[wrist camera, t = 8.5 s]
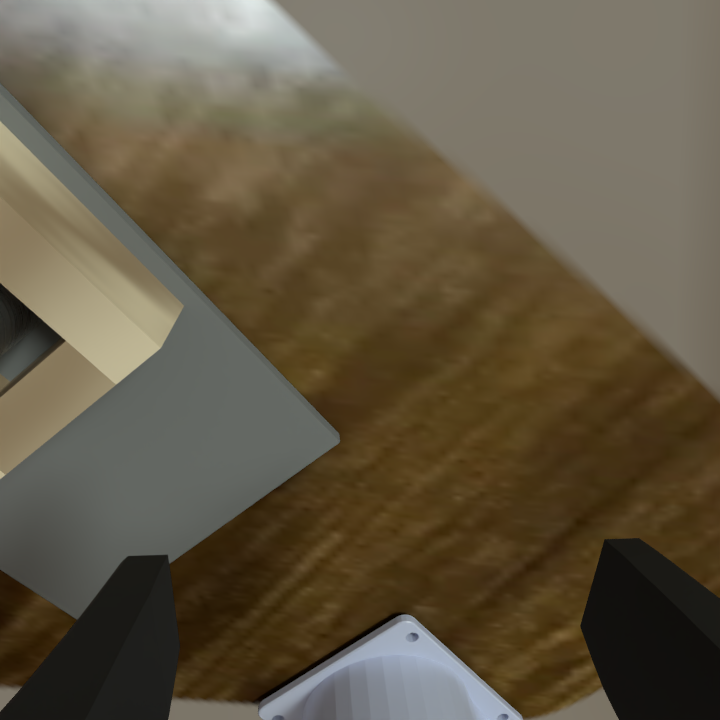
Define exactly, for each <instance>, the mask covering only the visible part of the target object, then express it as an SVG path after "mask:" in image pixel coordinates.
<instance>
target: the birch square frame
mask: <svg viewBox="0 0 720 720" xmlns="http://www.w3.org/2000/svg"><path fill="white" fill-rule="evenodd" d="M0 283H1V284H2V285H3V286H4V287H5V288H6V289H8V290H9V291H10V292H11V293H12V294H13V295H14V296H16V297H17V298H18V299H19V300H20V301H21V302H22V303H24V304H25V305H26V306H27V307H28V308H29V309H30V310H32V311H33V312H34V313H35V314H36V315H37V316H38V317H39V318H41V319H42V320H43V321H44V322H45V323H46V324H47V325H49V326H50V327H51V328H52V329H53V330H54V331H55V332H57V333H58V334H59V335H60V336H61V338H60V339H59V340H58V341H57V342H56V343H54V344H53V345H52V346H51V347H50V348H49V349H47V350H46V351H45V352H44V353H43V354H42V355H41V356H39V357H38V358H37V359H36V360H35V361H34V362H32V363H31V364H30V365H29V366H28V367H27V368H25V369H24V370H23V371H22V372H21V373H20V374H18V375H17V376H16V377H15V378H14V379H13V380H11V381H9V380H7V379H6V378H5V377H4V376H2V375H1V374H0V479H1V478H2V477H4V476H5V475H6V474H7V473H8V472H10V471H11V470H12V469H13V468H15V467H16V466H17V465H18V464H20V463H21V462H22V461H23V460H24V459H26V458H27V457H28V456H29V455H31V454H32V453H33V452H34V451H35V450H37V449H38V448H39V447H40V446H42V445H43V444H44V443H45V442H46V441H48V440H49V439H50V438H51V437H53V436H54V435H55V434H56V433H58V432H59V431H60V430H61V429H62V428H64V427H65V426H66V425H67V424H69V423H70V422H71V421H72V420H73V419H75V418H76V417H77V416H78V415H80V414H81V413H82V412H83V411H84V410H86V409H87V408H88V407H89V406H91V405H92V404H93V403H94V402H96V401H97V400H98V399H99V398H100V397H102V396H103V395H104V394H105V393H107V392H108V391H109V390H110V389H111V388H113V387H114V386H115V385H116V384H118V383H119V382H120V381H121V380H122V379H124V378H125V377H126V376H127V375H129V374H130V373H131V372H132V371H133V370H135V369H136V368H137V367H138V366H140V365H141V364H142V363H143V362H145V361H146V360H147V359H148V358H149V357H151V356H152V355H153V354H154V353H156V352H157V351H158V350H159V349H160V348H161V347H162V345H163V343H164V341H165V340H166V338H167V336H168V334H169V332H170V331H171V329H172V327H173V325H174V323H175V322H176V320H177V318H178V316H179V314H180V313H181V311H182V309H183V307H184V305H183V304H182V303H181V302H180V301H179V300H178V299H177V298H176V297H175V296H174V295H173V294H172V293H171V292H170V291H169V290H168V289H167V288H166V287H165V286H164V285H163V284H162V283H161V282H160V281H159V280H158V279H157V278H156V277H155V276H154V275H153V274H152V273H151V272H150V271H149V270H148V269H147V268H146V267H145V266H144V265H143V264H142V263H141V262H140V261H139V260H138V259H137V258H136V257H135V256H134V255H133V254H132V253H131V252H130V251H129V250H128V249H127V248H126V247H125V246H124V245H123V244H122V243H121V242H120V241H119V240H118V239H117V238H116V237H115V236H114V235H113V234H112V233H111V232H110V231H109V230H108V229H107V228H106V227H105V226H104V225H103V224H102V223H101V222H100V221H99V220H98V219H97V218H96V217H95V216H94V215H93V214H92V213H91V212H90V211H89V210H88V209H87V208H86V207H85V206H84V205H83V204H82V203H81V202H80V201H79V200H78V199H77V198H76V197H75V196H74V195H73V194H72V193H71V192H70V191H69V190H68V189H67V188H66V187H65V186H64V185H63V184H62V183H61V182H60V181H59V180H58V179H57V178H56V177H55V176H54V175H53V174H52V173H51V172H50V171H49V170H48V169H47V168H46V167H45V166H44V165H43V164H42V163H41V162H40V161H39V160H38V159H37V158H36V157H35V156H34V155H33V154H32V153H31V151H30V150H29V149H28V148H27V147H26V146H25V145H24V144H23V143H22V142H21V141H20V140H19V139H18V138H17V137H16V136H15V135H14V134H13V133H12V132H11V131H10V130H9V129H8V128H7V127H6V126H5V125H4V124H3V123H2V122H1V121H0Z"/></svg>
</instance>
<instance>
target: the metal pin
mask: <svg viewBox="0 0 720 720" xmlns="http://www.w3.org/2000/svg"><path fill="white" fill-rule="evenodd" d="M41 321H42V319H41V318H39V317H38V316H37V315H36V314H35V313H34V312H33V311H32V310H30V309H29V308H28V307H27V306H26V305H25V304H24V303H22V302H21V301H20V300H19V299H18V298H17V297H16V296H14V295H13V294H12V293H11V292H10V291H9V290H8V289H6V288H5V287H4V286H3V285H2V284H1V283H0V357H1V356H2V355H3V354H4V353H6V352H7V351H8V350H9V349H10V348H11V347H13V346H14V345H15V344H16V343H17V342H19V341H20V340H21V339H22V338H23V337H25V336H26V335H27V334H28V333H29V332H30V331H32V330H33V329H34V328H35V327H36V326H37V325H38V324H39V323H40V322H41Z"/></svg>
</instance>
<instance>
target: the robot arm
mask: <svg viewBox="0 0 720 720" xmlns="http://www.w3.org/2000/svg"><path fill="white" fill-rule="evenodd" d="M581 629H582V632H583V635H584V638H585V641H586V643H587V646H588V649H589V652H590V655H591V657H592V660H593V663H594V665H595V668H596V670H597V673H598V676H599V678H600V681H601V683H602V686H603V688H604V690H605V692H606V695H607V697H608V699H609V701H610V703H611V704H612V707H613V709H614V711H615V713H616V715H617V717H618V718H619V720H720V598H718V597H717V596H716V595H714V594H713V593H712V592H710V591H709V590H708V589H707V588H705V587H704V586H703V585H701V584H700V583H699V582H697V581H696V580H695V579H693V578H692V577H691V576H689V575H688V574H687V573H686V572H684V571H683V570H682V569H680V568H679V567H678V566H676V565H675V564H674V563H672V562H671V561H670V560H668V559H667V558H666V557H664V556H663V555H662V554H660V553H659V552H658V551H656V550H655V549H653V548H652V547H651V546H649V545H648V544H646V543H645V542H643V541H642V540H641V539H639V538H633V539H605V540H604V544H603V547H602V551H601V554H600V558H599V562H598V565H597V569H596V572H595V576H594V579H593V583H592V586H591V590H590V594H589V597H588V601H587V604H586V608H585V611H584V615H583V618H582V622H581ZM410 633H411V634H410ZM179 649H180V643H179V635H178V628H177V620H176V612H175V605H174V597H173V589H172V582H171V574H170V566H169V559H168V555H141V556H127V557H126V558H125V559H124V560H123V561H122V562H121V563H120V564H119V566H118V567H117V569H116V570H115V571H114V573H113V574H112V575H111V577H110V578H109V579H108V581H107V582H106V583H105V585H104V586H103V587H102V589H101V590H100V591H99V592H98V594H97V595H96V596H95V598H94V599H93V600H92V602H91V603H90V604H89V606H88V607H87V608H86V609H85V611H84V612H83V613H82V615H81V616H80V617H79V618H78V620H77V621H76V622H75V623H74V625H73V626H72V627H71V628H70V630H69V631H68V632H67V634H66V635H65V636H64V637H63V638H62V640H61V641H60V642H59V643H58V645H57V646H56V647H55V648H54V649H53V651H52V652H51V653H50V654H49V655H48V657H47V658H46V659H45V660H44V661H43V663H42V664H41V665H40V666H39V668H38V669H37V670H36V671H35V672H34V674H33V675H32V676H31V677H30V678H29V680H28V681H27V682H26V683H25V684H24V685H23V687H22V688H21V689H20V690H19V691H18V693H17V694H16V695H15V696H14V697H13V698H12V699H11V700H10V702H9V703H8V704H7V705H6V706H5V707H4V708H3V709H2V710H1V712H0V720H168V717H169V712H170V705H171V700H172V694H173V688H174V682H175V675H176V669H177V662H178V655H179ZM258 714H259V716H260V718H262V719H263V720H523V718H522V716H521V715H520V714H519V713H518V712H517V711H516V710H515V709H514V708H513V707H512V706H511V705H509V704H508V703H507V702H506V701H505V700H504V699H503V698H502V697H501V696H500V695H498V694H497V693H496V692H495V691H494V690H493V689H492V688H491V687H490V686H489V685H487V684H486V683H485V682H484V681H483V680H482V679H481V678H480V677H479V676H478V675H476V674H475V673H474V672H473V671H472V670H471V669H470V668H469V667H468V666H467V665H465V664H464V663H463V662H462V661H461V660H460V659H459V658H458V657H457V656H456V655H454V654H453V653H452V652H451V651H450V650H449V649H448V648H447V647H446V646H445V645H444V644H442V643H441V642H440V641H439V640H438V639H437V638H436V637H435V636H434V635H433V634H431V633H430V632H429V631H428V630H427V629H426V628H425V627H424V626H423V625H422V624H420V623H419V622H418V621H417V620H416V619H415V618H414V617H412V616H410V615H406V614H404V615H400V616H397V617H395V618H394V619H392V620H391V621H389V622H387V623H386V624H384V625H383V626H381V627H379V628H378V629H376V630H375V631H373V632H371V633H370V634H368V635H367V636H365V637H363V638H362V639H360V640H359V641H357V642H355V643H354V644H352V645H351V646H349V647H347V648H346V649H344V650H342V651H341V652H339V653H338V654H336V655H334V656H333V657H331V658H330V659H328V660H326V661H325V662H323V663H322V664H320V665H318V666H317V667H315V668H314V669H312V670H310V671H309V672H307V673H306V674H304V675H302V676H301V677H299V678H298V679H296V680H294V681H293V682H291V683H289V684H288V685H286V686H285V687H283V688H281V689H280V690H278V691H277V692H275V693H273V694H272V695H270V696H269V697H267V698H265V699H264V700H262V701H261V702H260V704H259V708H258Z"/></svg>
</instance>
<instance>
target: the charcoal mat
mask: <svg viewBox="0 0 720 720" xmlns="http://www.w3.org/2000/svg"><path fill="white" fill-rule="evenodd" d="M0 121H1V122H2V123H3V124H4V125H5V126H6V127H7V128H8V129H9V130H10V131H11V132H12V133H13V134H14V135H15V136H16V137H17V138H18V139H19V140H20V141H21V142H22V143H23V144H24V145H25V146H26V147H27V148H28V149H29V150H30V151H31V153H32V154H33V155H34V156H35V157H36V158H37V159H38V160H39V161H40V162H41V163H42V164H43V165H44V166H45V167H46V168H47V169H48V170H49V171H50V172H51V173H52V174H53V175H54V176H55V177H56V178H57V179H58V180H59V181H60V182H61V183H62V184H63V185H64V186H65V187H66V188H67V189H68V190H69V191H70V192H71V193H72V194H73V195H74V196H75V197H76V198H77V199H78V200H79V201H80V202H81V203H82V204H83V205H84V206H85V207H86V208H87V209H88V210H89V211H90V212H91V213H92V214H93V215H94V216H95V217H96V218H97V219H98V220H99V221H100V222H101V223H102V224H103V225H104V226H105V227H106V228H107V229H108V230H109V231H110V232H111V233H112V234H113V235H114V236H115V237H116V238H117V239H118V240H119V241H120V242H121V243H122V244H123V245H124V246H125V247H126V248H127V249H128V250H129V251H130V252H131V253H132V254H133V255H134V256H135V257H136V258H137V259H138V260H139V261H140V262H141V263H142V264H143V265H144V266H145V267H146V268H147V269H148V270H149V271H150V272H151V273H152V274H153V275H154V276H155V277H156V278H157V279H158V280H159V281H160V282H161V283H162V284H163V285H164V286H165V287H166V288H167V289H168V290H169V291H170V292H171V293H172V294H173V295H174V296H175V297H176V298H177V299H178V300H179V301H180V302H181V303H182V304H183V305H184V307H183V309H182V311H181V313H180V314H179V316H178V318H177V320H176V322H175V323H174V325H173V327H172V329H171V331H170V332H169V334H168V336H167V338H166V340H165V341H164V343H163V345H162V347H161V348H160V349H159V350H158V351H157V352H156V353H154V354H153V355H152V356H151V357H149V358H148V359H147V360H146V361H145V362H143V363H142V364H141V365H140V366H138V367H137V368H136V369H135V370H133V371H132V372H131V373H130V374H129V375H127V376H126V377H125V378H124V379H122V380H121V381H120V382H119V383H118V384H116V385H115V386H114V387H113V388H111V389H110V390H109V391H108V392H107V393H105V394H104V395H103V396H102V397H100V398H99V399H98V400H97V401H96V402H94V403H93V404H92V405H91V406H89V407H88V408H87V409H86V410H84V411H83V412H82V413H81V414H80V415H78V416H77V417H76V418H75V419H73V420H72V421H71V422H70V423H69V424H67V425H66V426H65V427H64V428H62V429H61V430H60V431H59V432H58V433H56V434H55V435H54V436H53V437H51V438H50V439H49V440H48V441H46V442H45V443H44V444H43V445H42V446H40V447H39V448H38V449H37V450H35V451H34V452H33V453H32V454H31V455H29V456H28V457H27V458H26V459H24V460H23V461H22V462H21V463H20V464H18V465H17V466H16V467H15V468H13V469H12V470H11V471H10V472H8V473H7V474H6V475H5V476H4V477H2V478H1V479H0V570H2V571H3V572H5V573H6V574H8V575H9V576H11V577H12V578H14V579H15V580H17V581H18V582H20V583H22V584H23V585H25V586H26V587H28V588H29V589H31V590H32V591H34V592H35V593H37V594H38V595H40V596H42V597H43V598H45V599H46V600H48V601H49V602H51V603H52V604H54V605H55V606H57V607H58V608H60V609H61V610H63V611H65V612H66V613H68V614H69V615H71V616H72V617H74V618H75V619H77V620H78V618H79V617H80V616H81V615H82V613H83V612H84V611H85V609H86V608H87V607H88V606H89V604H90V603H91V602H92V600H93V599H94V598H95V596H96V595H97V594H98V592H99V591H100V590H101V589H102V587H103V586H104V585H105V583H106V582H107V581H108V579H109V578H110V577H111V575H112V574H113V573H114V571H115V570H116V569H117V567H118V566H119V564H120V563H121V562H122V561H123V560H124V559H125V558H126V557H127V556H141V555H168V559H169V564H170V563H171V562H172V561H174V560H175V559H177V558H178V557H179V556H181V555H182V554H184V553H185V552H186V551H188V550H189V549H191V548H192V547H194V546H195V545H196V544H198V543H199V542H201V541H202V540H203V539H205V538H206V537H208V536H209V535H210V534H212V533H213V532H215V531H216V530H217V529H219V528H220V527H222V526H223V525H224V524H226V523H227V522H229V521H230V520H231V519H233V518H234V517H236V516H237V515H238V514H240V513H241V512H243V511H244V510H245V509H247V508H248V507H250V506H251V505H252V504H254V503H255V502H257V501H258V500H259V499H261V498H262V497H264V496H265V495H266V494H268V493H269V492H271V491H272V490H273V489H275V488H276V487H278V486H279V485H280V484H282V483H283V482H285V481H286V480H287V479H289V478H290V477H292V476H293V475H294V474H296V473H297V472H299V471H300V470H302V469H303V468H304V467H306V466H307V465H309V464H310V463H311V462H313V461H314V460H316V459H317V458H318V457H320V456H321V455H323V454H324V453H325V452H327V451H328V450H330V449H331V448H332V447H334V446H335V445H337V444H338V443H339V442H340V438H339V433H338V432H337V431H336V430H335V429H334V428H333V427H332V426H331V425H330V424H329V423H328V422H327V421H326V420H325V419H324V418H323V417H322V416H321V415H320V414H319V413H318V412H317V410H316V409H315V408H314V407H313V406H312V405H311V404H310V403H309V402H308V401H307V400H306V399H305V398H304V397H303V396H302V395H301V394H300V393H299V392H298V391H297V390H296V389H295V388H294V387H293V386H292V385H291V384H290V383H289V382H288V380H287V379H286V378H285V377H284V376H283V375H282V374H281V373H280V372H279V371H278V370H277V369H276V368H275V367H274V366H273V365H272V364H271V363H270V362H269V361H268V360H267V359H266V358H265V357H264V356H263V355H262V354H261V353H260V351H259V350H258V349H257V348H256V347H255V346H254V345H253V344H252V343H251V342H250V341H249V340H248V339H247V338H246V337H245V336H244V335H243V334H242V333H241V332H240V331H239V330H238V329H237V328H236V327H235V326H234V325H233V324H232V323H231V321H230V320H229V319H228V318H227V317H226V316H225V315H224V314H223V313H222V312H221V311H220V310H219V309H218V308H217V307H216V306H215V305H214V304H213V303H212V302H211V301H210V300H209V299H208V298H207V297H206V296H205V295H204V294H203V293H202V291H201V290H200V289H199V288H198V287H197V286H196V285H195V284H194V283H193V282H192V281H191V280H190V279H189V278H188V277H187V276H186V275H185V274H184V273H183V272H182V271H181V270H180V269H179V268H178V267H177V266H176V265H175V264H174V262H173V261H172V260H171V259H170V258H169V257H168V256H167V255H166V254H165V253H164V252H163V251H162V250H161V249H160V248H159V247H158V246H157V245H156V244H155V243H154V242H153V241H152V240H151V239H150V238H149V237H148V236H147V235H146V234H145V232H144V231H143V230H142V229H141V228H140V227H139V226H138V225H137V224H136V223H135V222H134V221H133V220H132V219H131V218H130V217H129V216H128V215H127V214H126V213H125V212H124V211H123V210H122V209H121V208H120V207H119V206H118V205H117V204H116V202H115V201H114V200H113V199H112V198H111V197H110V196H109V195H108V194H107V193H106V192H105V191H104V190H103V189H102V188H101V187H100V186H99V185H98V184H97V183H96V182H95V181H94V180H93V179H92V178H91V177H90V176H89V175H88V173H87V172H86V171H85V170H84V169H83V168H82V167H81V166H80V165H79V164H78V163H77V162H76V161H75V160H74V159H73V158H72V157H71V156H70V155H69V154H68V153H67V152H66V151H65V150H64V149H63V148H62V147H61V146H60V145H59V143H58V142H57V141H56V140H55V139H54V138H53V137H52V136H51V135H50V134H49V133H48V132H47V131H46V130H45V129H44V128H43V127H42V126H41V125H40V124H39V123H38V122H37V121H36V120H35V119H34V118H33V117H32V116H31V114H30V113H29V112H28V111H27V110H26V109H25V108H24V107H23V106H22V105H21V104H20V103H19V102H18V101H17V100H16V99H15V98H14V97H13V96H12V95H11V94H10V93H9V92H8V91H7V90H6V89H5V88H4V87H3V86H2V84H1V83H0ZM60 338H61V336H60V335H59V334H58V333H57V332H55V331H54V330H53V329H52V328H51V327H50V326H49V325H47V324H46V323H45V322H44V321H43V320H42V321H41V322H40V323H39V324H38V325H37V326H36V327H35V328H34V329H33V330H32V331H30V332H29V333H28V334H27V335H26V336H25V337H23V338H22V339H21V340H20V341H19V342H17V343H16V344H15V345H14V346H13V347H11V348H10V349H9V350H8V351H7V352H6V353H4V354H3V355H2V356H1V357H0V374H1V375H2V376H4V377H5V378H6V379H7V380H9V381H11V380H13V379H14V378H15V377H16V376H17V375H18V374H20V373H21V372H22V371H23V370H24V369H25V368H27V367H28V366H29V365H30V364H31V363H32V362H34V361H35V360H36V359H37V358H38V357H39V356H41V355H42V354H43V353H44V352H45V351H46V350H47V349H49V348H50V347H51V346H52V345H53V344H54V343H56V342H57V341H58V340H59V339H60Z"/></svg>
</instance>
